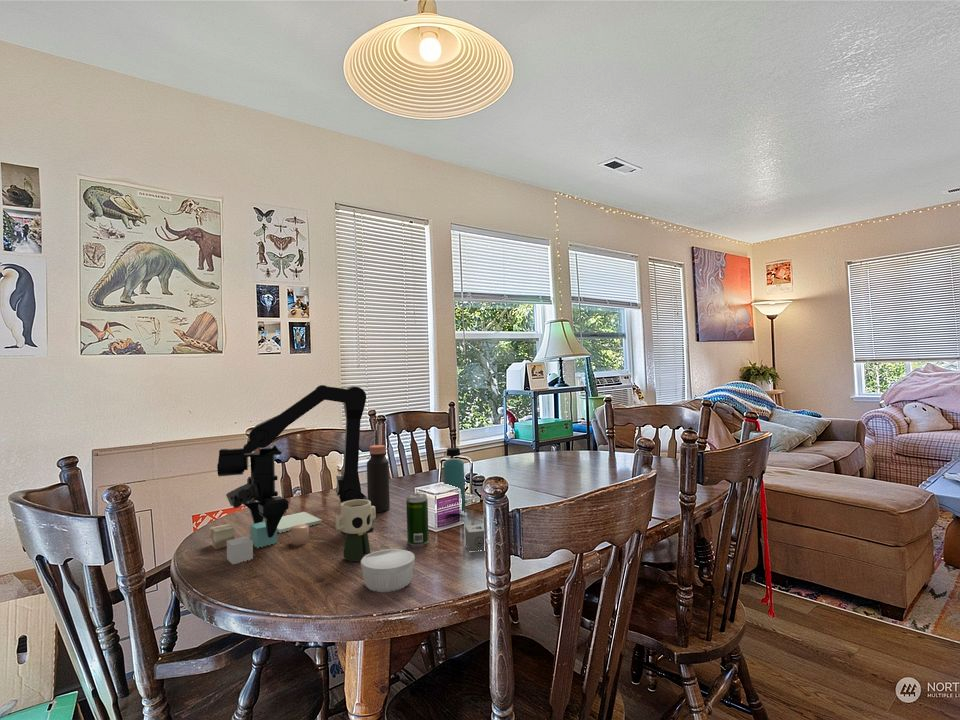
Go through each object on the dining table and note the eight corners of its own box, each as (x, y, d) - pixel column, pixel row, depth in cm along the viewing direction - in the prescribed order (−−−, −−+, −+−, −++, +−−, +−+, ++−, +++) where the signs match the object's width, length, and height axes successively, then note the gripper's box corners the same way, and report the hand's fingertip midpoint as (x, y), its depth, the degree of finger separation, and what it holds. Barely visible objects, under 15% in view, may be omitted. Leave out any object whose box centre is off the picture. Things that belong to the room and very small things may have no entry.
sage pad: (321, 523, 147) (321, 519, 147) (280, 533, 139) (279, 529, 139) (304, 514, 156) (304, 511, 156) (264, 523, 148) (264, 520, 148)
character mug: (345, 569, 113) (344, 511, 113) (328, 561, 117) (327, 505, 118) (385, 555, 121) (383, 500, 121) (367, 548, 126) (366, 495, 126)
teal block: (277, 543, 131) (276, 524, 131) (257, 548, 128) (256, 528, 128) (270, 539, 135) (269, 520, 135) (250, 543, 131) (250, 524, 131)
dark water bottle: (365, 508, 161) (364, 445, 161) (386, 505, 164) (385, 443, 164) (370, 513, 155) (369, 448, 155) (392, 510, 158) (390, 446, 158)
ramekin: (394, 568, 113) (393, 544, 113) (426, 582, 105) (426, 556, 105) (350, 584, 105) (349, 559, 105) (382, 601, 97) (381, 573, 97)
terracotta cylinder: (311, 542, 131) (311, 526, 131) (294, 546, 128) (294, 530, 128) (304, 538, 134) (304, 523, 134) (288, 542, 131) (287, 527, 132)
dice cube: (489, 551, 122) (489, 530, 122) (469, 553, 121) (468, 532, 121) (485, 544, 127) (484, 524, 127) (465, 546, 126) (464, 525, 126)
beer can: (430, 545, 127) (429, 497, 127) (409, 548, 125) (408, 499, 125) (425, 538, 132) (424, 492, 132) (405, 541, 130) (404, 494, 130)
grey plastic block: (252, 559, 120) (252, 540, 120) (232, 564, 117) (232, 545, 117) (246, 554, 124) (246, 536, 124) (226, 559, 121) (226, 540, 121)
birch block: (234, 545, 131) (234, 527, 131) (215, 549, 128) (215, 531, 128) (229, 540, 134) (228, 523, 134) (210, 545, 131) (210, 527, 131)
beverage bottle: (456, 519, 147) (454, 450, 148) (439, 515, 151) (437, 448, 152) (470, 513, 153) (468, 447, 153) (453, 510, 157) (452, 445, 157)
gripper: (218, 472, 133) (219, 532, 133) (241, 483, 119) (242, 550, 119) (262, 466, 140) (263, 522, 140) (288, 476, 126) (290, 538, 126)
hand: (264, 533), depth 131 cm, fingers open, 9 cm apart
